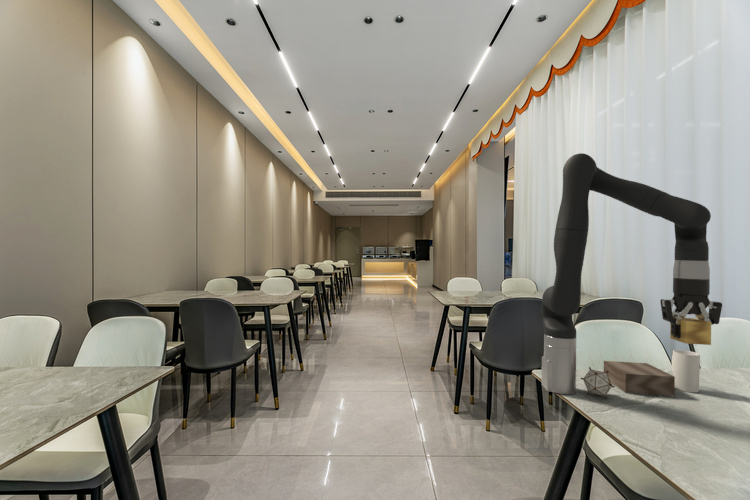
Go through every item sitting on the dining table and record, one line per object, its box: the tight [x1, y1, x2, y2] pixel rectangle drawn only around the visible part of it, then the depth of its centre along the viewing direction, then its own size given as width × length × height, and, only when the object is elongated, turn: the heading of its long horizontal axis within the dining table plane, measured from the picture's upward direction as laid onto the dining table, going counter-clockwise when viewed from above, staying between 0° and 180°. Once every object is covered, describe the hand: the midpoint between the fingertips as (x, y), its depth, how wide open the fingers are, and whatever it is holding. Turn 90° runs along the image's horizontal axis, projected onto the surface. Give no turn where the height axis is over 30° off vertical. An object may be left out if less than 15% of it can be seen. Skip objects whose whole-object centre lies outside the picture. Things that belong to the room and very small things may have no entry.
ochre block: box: [669, 317, 712, 346], centre depth 97 cm, size 6×6×6 cm
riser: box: [603, 360, 676, 397], centre depth 118 cm, size 14×14×6 cm
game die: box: [580, 366, 616, 400], centre depth 109 cm, size 9×8×10 cm
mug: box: [671, 349, 701, 394], centre depth 117 cm, size 10×7×12 cm, turn 171°
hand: (690, 338), depth 97 cm, fingers closed on ochre block, 6 cm apart
